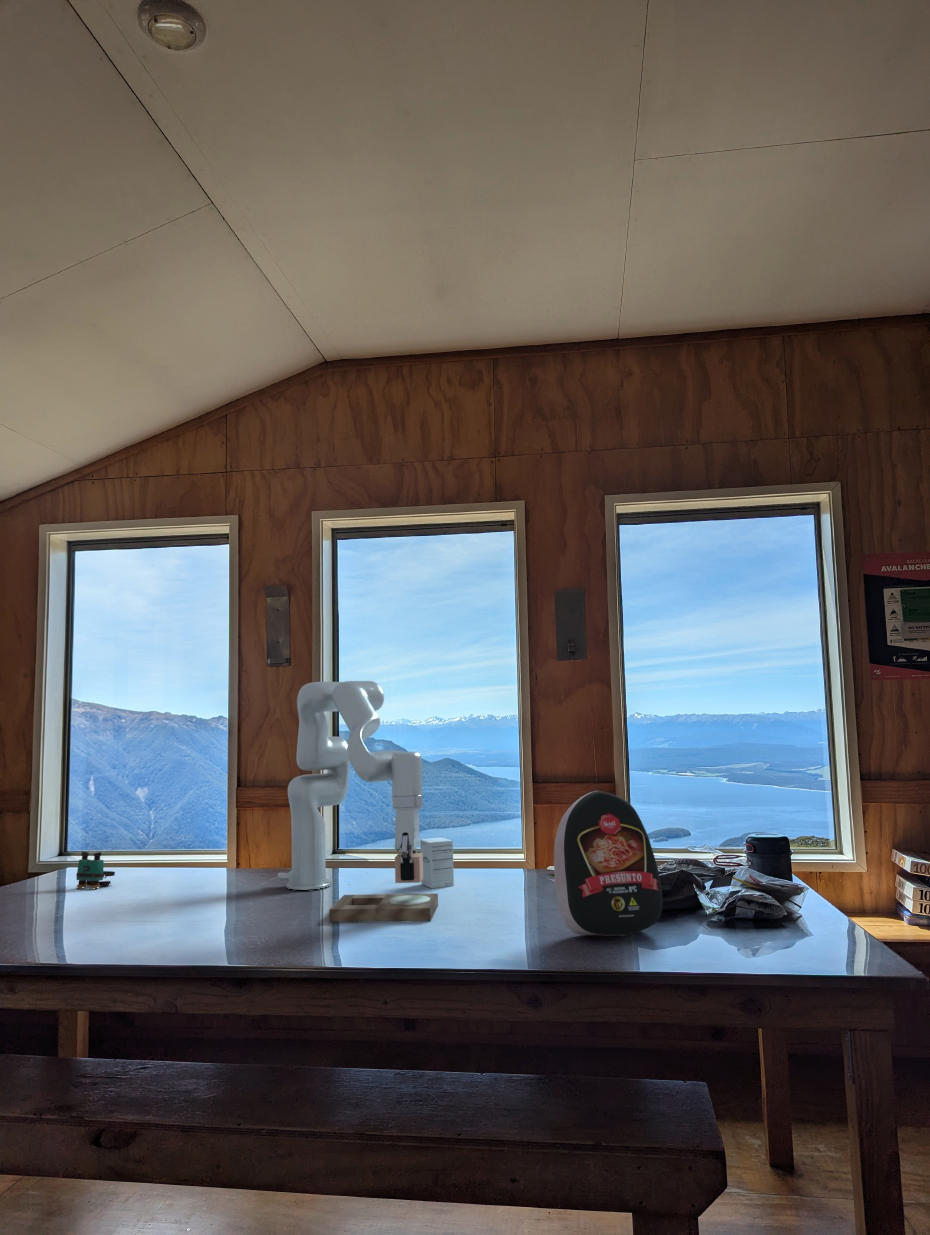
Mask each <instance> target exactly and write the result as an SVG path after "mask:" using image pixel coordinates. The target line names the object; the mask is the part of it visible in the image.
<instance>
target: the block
mask: <svg viewBox="0 0 930 1235" xmlns="http://www.w3.org/2000/svg"><path fill="white" fill-rule="evenodd" d="M409 854H410V853H409ZM400 863H401V852H400V853H398V854H397V855H396V856H395V857H394V877H395V879H394V881H395V882H394V883H395V884H410V883H411V884H412V883H413V884H415V883H420V884H421V880H422V879H423V853H421V852H417V853H413V862H412V863H414V880H403V881H402V880H401V870H400Z"/></svg>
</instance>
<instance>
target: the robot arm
mask: <svg viewBox="0 0 930 1235" xmlns="http://www.w3.org/2000/svg"><path fill="white" fill-rule="evenodd" d="M297 694H298V695H297V698H296V708H297V713H298V721H299V722H298V733H297V744H296V764H297V767H298V768H299V769H301V770H302V771H306V772H307V771H309V772H311V771H326V770H327V771H326V772H327V773H312V774H302V775H299V776H298V775H297V776H295V777H294V778H292V779H291V780H290V782H289V783H288V786H287V796H288V804H289V808H290V819H291V870H290V871H288V872H278V873H277V880H278V881H288V882H287V883H286V886H287V887H288V888H290V889H299V890H300V889H301V890H308V889H318V890H321V889H320V888H323V889H326V888H325V887H327V888H329V887H330V886H332V880H330V879H327V877H326V875H327V872H326V867H327V866H326V863H327V862H326V822H325V820H324V817H323V815H322V813H320V811H319V810H318V808H322V807H330V806H338V805H340V804H342V803H343V802H344V801H345V799H346V797H347V794H348V788H349V775H350V766H352V768H353V770H354V772H355V774H356V775H357V777H359V779H360V780H361V781H364V782H366V783H375V782H376V783H378V782H391V798H392V799H391V800H392V801H391V804H392V810H395V821H394V823H395V824H394V825H395V826H394V849H395V851H396V852H399V851H400V853H401V863H400V870H401V880H402V881H403V880H414V863H412V862H413V853H418V852H417V851H418V849H417V848H418V847H419V846H420V813H419V812H420V809H421V810H422V809H423V808H424V797H423V768H422V767H423V766H422V765H423V763H422V755H421V754H420V752H417V751H403V750H381V751H380V750H379V751H370V750H368V748H367V746H366V745H365V743H364V740H366V739H368V738H370V737H372V736H373V735H374V734H375V733H376V732H377V731H378V729H379V727H380V725H381V718H380V715H378V713H377V711H378V710H380V709H381V708H382V707H383V705H384V701H385V694H384V691H383V689H382V687H381V686H380V685H379V684H378V682H375V681H373V680H347V681H314V682H308V683H306V684H303V685H302V686H301V688H300V690H299V691H298V693H297ZM325 712H327V713H328V712H338V713H339V714H340V717H342V719H343V721H344V723H345V726H346V727H347V729H348V730H349V732H350V734H349V736H348V738H347V740H346V739H345V738H343V737H342V736H329V729H330V728H329V726H330V722H329V719H328V718H327V716H326V714H325ZM409 853H410V854H409ZM286 886H285V887H286ZM328 886H329V887H328Z"/></svg>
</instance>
